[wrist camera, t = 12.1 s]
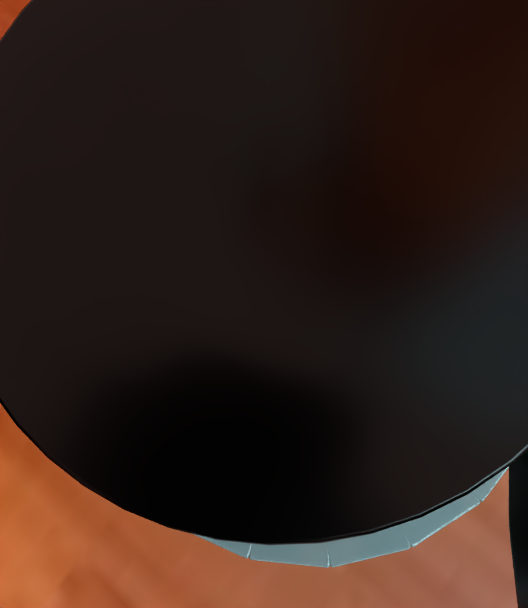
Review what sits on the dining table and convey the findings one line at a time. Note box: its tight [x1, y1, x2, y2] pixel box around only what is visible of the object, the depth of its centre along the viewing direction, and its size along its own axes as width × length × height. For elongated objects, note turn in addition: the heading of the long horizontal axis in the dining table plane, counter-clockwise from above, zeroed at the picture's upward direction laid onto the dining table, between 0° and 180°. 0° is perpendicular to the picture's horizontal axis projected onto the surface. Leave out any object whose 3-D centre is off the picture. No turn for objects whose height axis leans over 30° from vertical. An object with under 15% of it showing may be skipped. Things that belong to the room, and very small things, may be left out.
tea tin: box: [0, 0, 528, 545], centre depth 10 cm, size 6×6×12 cm
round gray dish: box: [194, 467, 509, 568], centre depth 14 cm, size 13×13×4 cm
